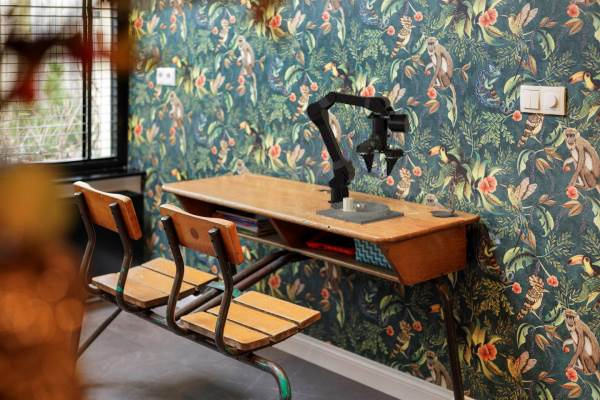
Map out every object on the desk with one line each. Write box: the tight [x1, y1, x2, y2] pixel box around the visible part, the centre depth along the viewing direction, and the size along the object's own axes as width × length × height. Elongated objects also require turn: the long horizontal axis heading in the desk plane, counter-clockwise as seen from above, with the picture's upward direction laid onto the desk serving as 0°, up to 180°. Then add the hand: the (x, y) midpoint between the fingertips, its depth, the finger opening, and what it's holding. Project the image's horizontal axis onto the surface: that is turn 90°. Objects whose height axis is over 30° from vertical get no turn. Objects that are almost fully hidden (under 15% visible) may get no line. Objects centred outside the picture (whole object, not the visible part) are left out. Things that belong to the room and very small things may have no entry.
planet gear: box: [340, 197, 356, 212], centre depth 273 cm, size 6×6×6 cm
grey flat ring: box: [329, 200, 391, 218], centre depth 278 cm, size 21×21×2 cm
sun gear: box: [353, 202, 367, 212], centre depth 277 cm, size 5×5×3 cm
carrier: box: [315, 207, 405, 225], centre depth 278 cm, size 22×22×3 cm
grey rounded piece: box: [431, 187, 457, 218], centre depth 277 cm, size 8×8×10 cm
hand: (378, 174), depth 290 cm, fingers open, 9 cm apart
